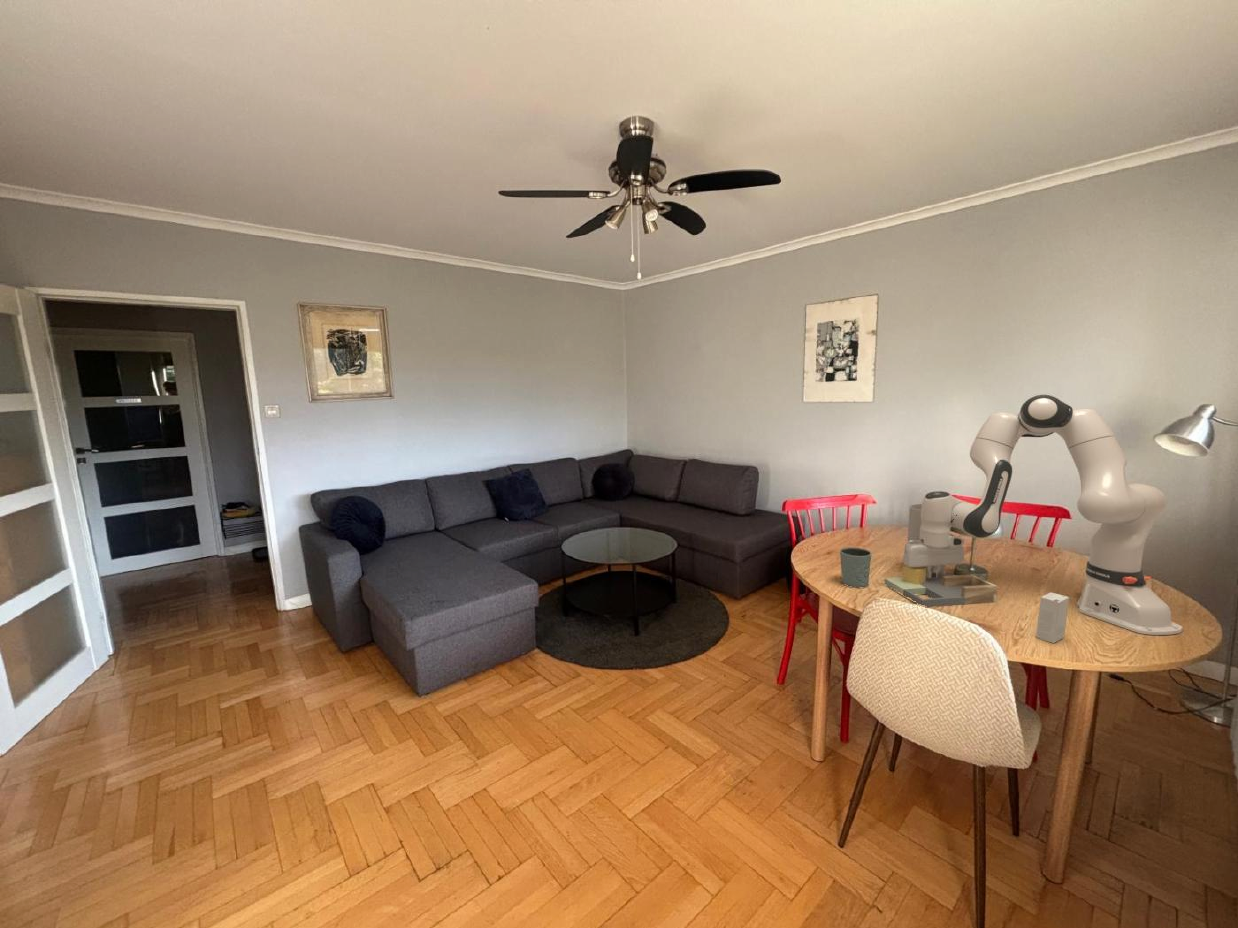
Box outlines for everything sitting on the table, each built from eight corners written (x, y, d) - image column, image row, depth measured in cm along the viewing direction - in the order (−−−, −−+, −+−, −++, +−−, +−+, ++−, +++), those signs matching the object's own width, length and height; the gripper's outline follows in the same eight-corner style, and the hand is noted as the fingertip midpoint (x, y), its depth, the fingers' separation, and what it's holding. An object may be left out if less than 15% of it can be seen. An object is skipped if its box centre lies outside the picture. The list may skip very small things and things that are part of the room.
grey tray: (996, 601, 159) (996, 594, 159) (921, 607, 157) (922, 600, 156) (951, 579, 178) (951, 573, 177) (884, 584, 175) (884, 578, 175)
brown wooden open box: (996, 601, 159) (997, 586, 158) (964, 604, 158) (965, 588, 157) (970, 589, 169) (971, 574, 169) (940, 591, 168) (941, 576, 168)
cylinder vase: (906, 565, 194) (909, 502, 190) (944, 569, 188) (948, 505, 184) (906, 575, 183) (909, 510, 179) (946, 581, 177) (950, 513, 173)
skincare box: (1045, 631, 139) (1049, 591, 138) (1065, 638, 135) (1070, 596, 134) (1034, 637, 136) (1038, 596, 135) (1055, 644, 133) (1059, 601, 131)
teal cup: (873, 589, 172) (875, 556, 170) (842, 588, 174) (843, 555, 172) (865, 578, 181) (866, 547, 180) (836, 577, 183) (837, 546, 182)
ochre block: (925, 581, 171) (926, 567, 170) (917, 584, 169) (918, 570, 168) (910, 577, 175) (911, 563, 175) (902, 580, 173) (903, 566, 172)
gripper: (912, 543, 166) (909, 582, 168) (968, 539, 167) (965, 578, 169) (899, 537, 172) (897, 575, 174) (954, 534, 174) (951, 571, 176)
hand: (931, 577), depth 172 cm, fingers closed
